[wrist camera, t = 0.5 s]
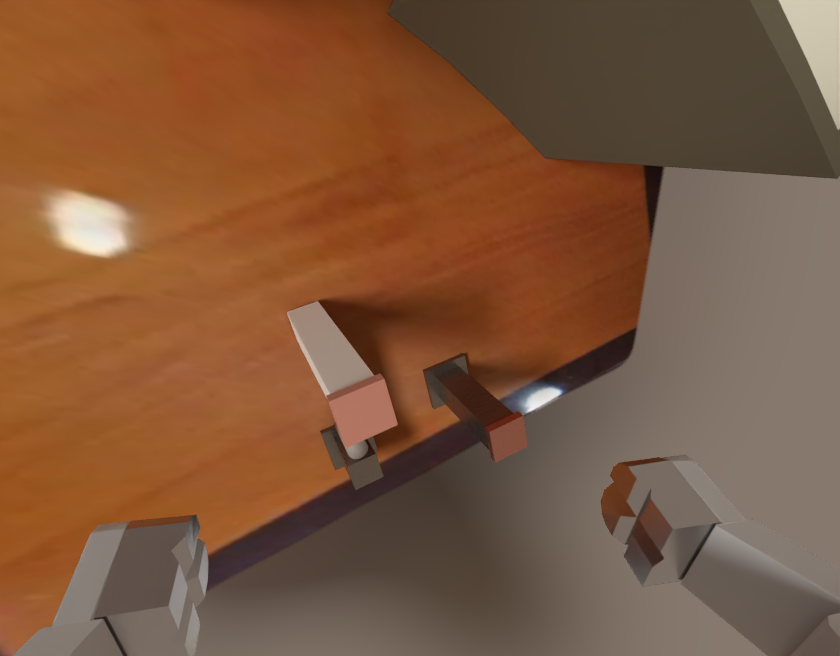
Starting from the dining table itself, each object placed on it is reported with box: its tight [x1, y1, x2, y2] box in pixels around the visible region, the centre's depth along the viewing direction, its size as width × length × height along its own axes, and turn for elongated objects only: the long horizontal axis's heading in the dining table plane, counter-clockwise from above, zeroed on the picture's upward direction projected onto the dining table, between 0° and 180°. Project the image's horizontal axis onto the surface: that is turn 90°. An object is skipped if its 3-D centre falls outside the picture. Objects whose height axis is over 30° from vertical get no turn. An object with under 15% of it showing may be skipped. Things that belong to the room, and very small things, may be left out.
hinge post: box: [320, 425, 383, 490], centre depth 50 cm, size 5×5×6 cm
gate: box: [287, 301, 398, 459], centre depth 40 cm, size 15×4×18 cm, turn 14°
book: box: [387, 0, 840, 179], centre depth 34 cm, size 22×9×28 cm, turn 56°
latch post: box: [423, 354, 528, 463], centre depth 50 cm, size 5×5×13 cm
